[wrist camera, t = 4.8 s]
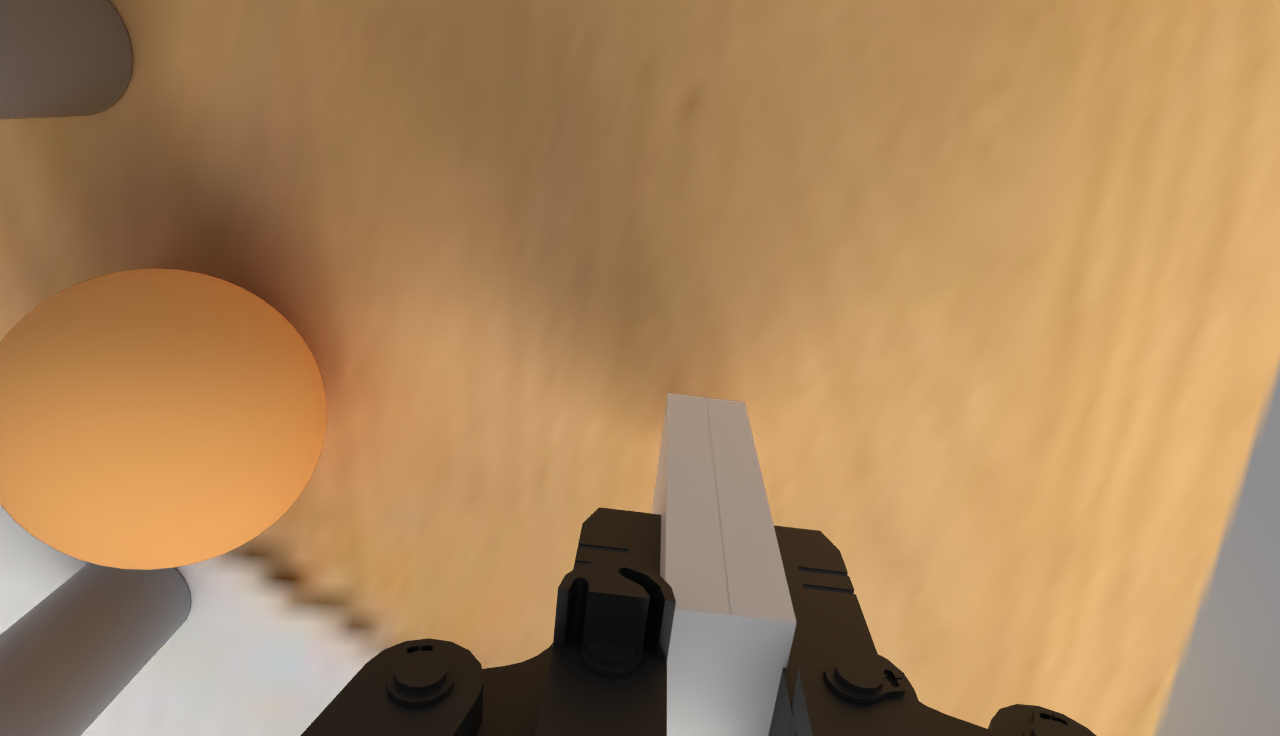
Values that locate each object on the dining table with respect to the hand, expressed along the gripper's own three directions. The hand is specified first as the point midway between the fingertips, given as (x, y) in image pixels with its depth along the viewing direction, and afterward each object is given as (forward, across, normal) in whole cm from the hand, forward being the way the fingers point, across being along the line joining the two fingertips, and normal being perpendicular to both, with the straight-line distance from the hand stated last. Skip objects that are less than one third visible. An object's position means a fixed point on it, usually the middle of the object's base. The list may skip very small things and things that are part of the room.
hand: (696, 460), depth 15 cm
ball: (-1, +10, 0) cm, 10 cm away
